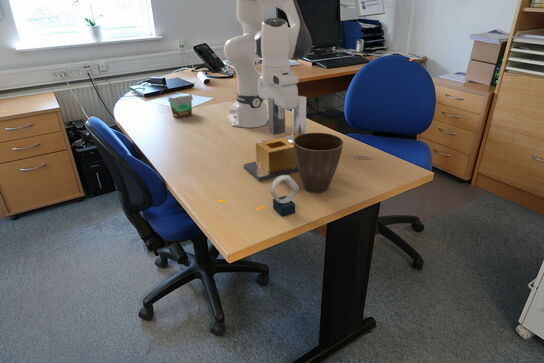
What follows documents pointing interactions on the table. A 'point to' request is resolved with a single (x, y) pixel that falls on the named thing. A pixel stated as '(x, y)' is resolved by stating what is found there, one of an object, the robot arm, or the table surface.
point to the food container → (181, 106)
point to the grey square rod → (275, 119)
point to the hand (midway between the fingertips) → (276, 116)
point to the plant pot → (317, 159)
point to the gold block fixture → (279, 149)
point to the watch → (284, 203)
